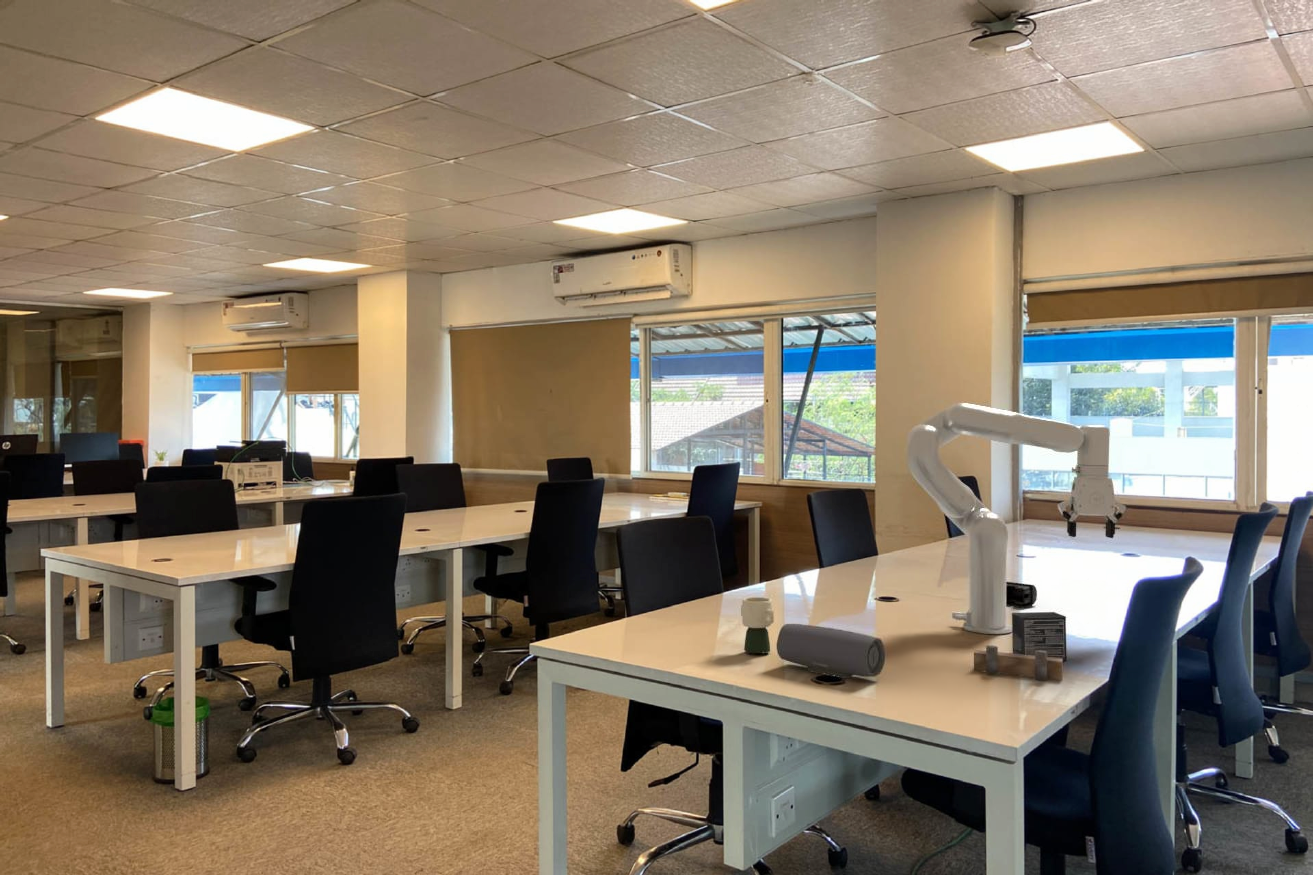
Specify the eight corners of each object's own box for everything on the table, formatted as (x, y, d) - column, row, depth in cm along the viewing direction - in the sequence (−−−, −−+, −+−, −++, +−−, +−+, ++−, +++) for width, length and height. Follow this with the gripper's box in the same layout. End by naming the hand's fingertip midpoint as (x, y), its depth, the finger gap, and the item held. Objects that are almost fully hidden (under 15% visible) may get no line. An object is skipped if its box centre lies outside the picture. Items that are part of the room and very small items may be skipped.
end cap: (1037, 605, 278) (1037, 583, 278) (1026, 608, 273) (1026, 586, 273) (1006, 601, 285) (1006, 579, 285) (995, 604, 281) (995, 582, 281)
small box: (1054, 654, 217) (1054, 610, 217) (1067, 661, 210) (1067, 616, 210) (1011, 655, 216) (1010, 611, 216) (1022, 662, 210) (1022, 616, 210)
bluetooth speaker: (886, 678, 197) (886, 632, 197) (865, 687, 190) (865, 639, 190) (797, 660, 212) (797, 618, 212) (775, 668, 205) (775, 624, 205)
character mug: (783, 655, 217) (783, 600, 217) (762, 659, 213) (762, 604, 213) (752, 646, 226) (752, 594, 226) (731, 650, 221) (730, 597, 221)
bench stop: (972, 672, 200) (972, 645, 200) (975, 667, 205) (975, 640, 205) (1061, 683, 192) (1061, 654, 192) (1062, 676, 197) (1062, 649, 197)
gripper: (1064, 472, 236) (1063, 537, 236) (1132, 473, 235) (1131, 539, 235) (1053, 470, 243) (1051, 534, 243) (1119, 472, 242) (1117, 536, 243)
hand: (1090, 536), depth 239 cm, fingers open, 9 cm apart
